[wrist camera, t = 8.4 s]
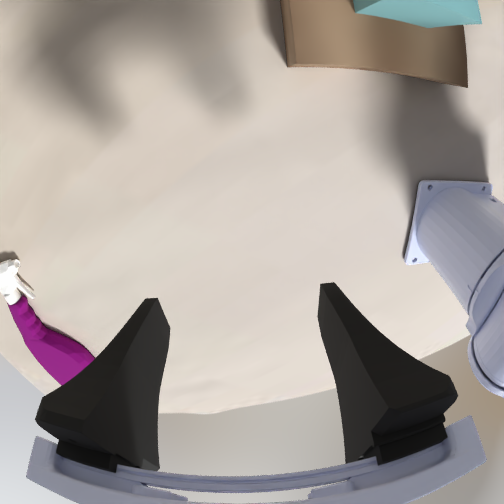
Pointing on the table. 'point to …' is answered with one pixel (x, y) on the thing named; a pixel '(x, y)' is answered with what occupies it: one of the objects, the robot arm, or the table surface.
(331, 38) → the walnut base
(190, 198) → the table surface
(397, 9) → the teal cube
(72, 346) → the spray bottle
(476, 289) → the robot arm
